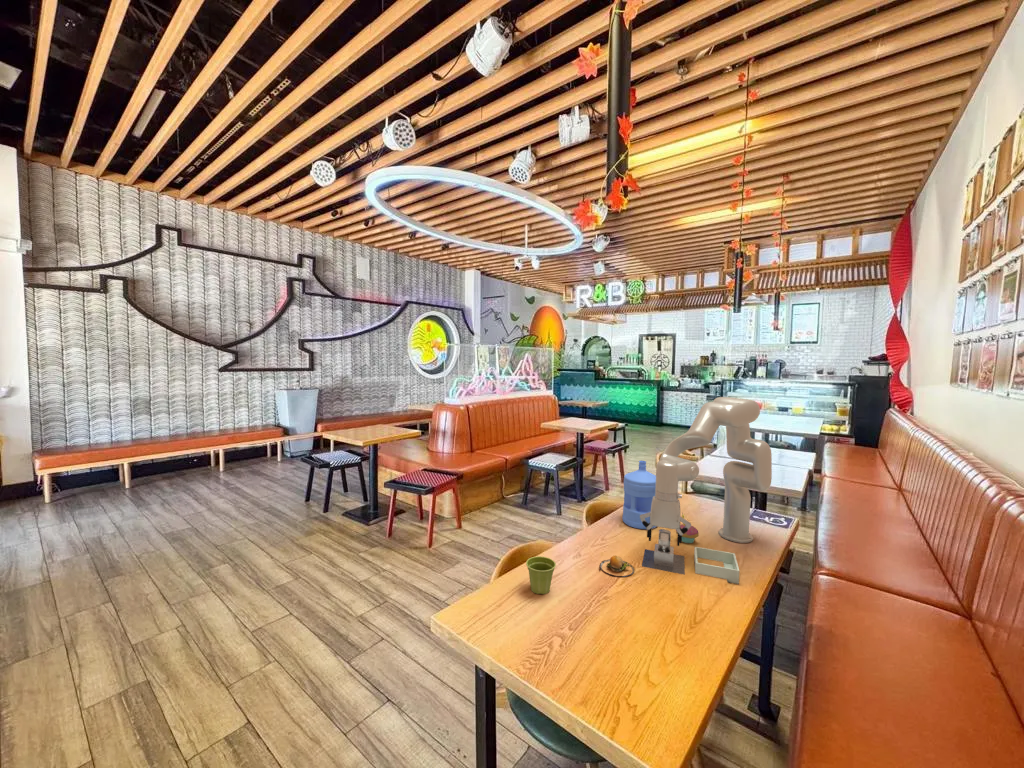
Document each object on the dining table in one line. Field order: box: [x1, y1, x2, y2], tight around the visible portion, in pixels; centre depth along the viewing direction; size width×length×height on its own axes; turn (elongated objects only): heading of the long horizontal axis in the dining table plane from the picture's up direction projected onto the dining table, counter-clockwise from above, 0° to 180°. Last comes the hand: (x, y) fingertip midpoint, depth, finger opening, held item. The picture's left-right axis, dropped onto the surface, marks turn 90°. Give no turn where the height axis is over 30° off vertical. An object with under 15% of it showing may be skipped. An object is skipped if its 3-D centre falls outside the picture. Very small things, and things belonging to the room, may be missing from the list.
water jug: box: [622, 460, 657, 530], centre depth 187 cm, size 16×16×28 cm
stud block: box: [641, 548, 686, 576], centre depth 151 cm, size 14×14×5 cm
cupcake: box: [675, 512, 700, 544], centre depth 169 cm, size 9×8×12 cm
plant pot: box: [525, 555, 557, 595], centre depth 134 cm, size 9×9×9 cm
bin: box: [693, 546, 740, 585], centre depth 147 cm, size 13×13×5 cm
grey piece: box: [653, 528, 675, 567], centre depth 151 cm, size 6×6×11 cm
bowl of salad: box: [598, 555, 635, 578], centre depth 146 cm, size 12×12×8 cm
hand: (663, 542), depth 151 cm, fingers open, 9 cm apart
